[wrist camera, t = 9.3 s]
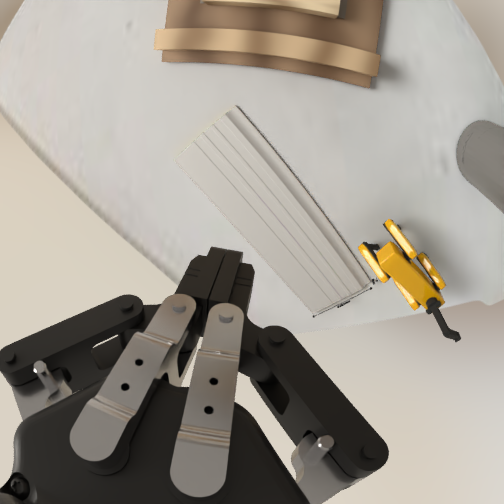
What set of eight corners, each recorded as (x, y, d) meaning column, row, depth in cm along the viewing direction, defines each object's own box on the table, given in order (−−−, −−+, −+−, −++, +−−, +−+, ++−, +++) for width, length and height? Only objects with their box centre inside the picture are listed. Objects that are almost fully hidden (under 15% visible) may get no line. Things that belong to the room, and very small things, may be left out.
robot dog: (423, 297, 45) (446, 361, 34) (353, 232, 40) (369, 299, 29) (449, 276, 42) (479, 338, 31) (382, 204, 38) (412, 263, 27)
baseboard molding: (246, 97, 33) (177, 156, 39) (242, 99, 31) (168, 163, 36) (378, 274, 44) (312, 307, 50) (381, 286, 42) (312, 320, 47)
